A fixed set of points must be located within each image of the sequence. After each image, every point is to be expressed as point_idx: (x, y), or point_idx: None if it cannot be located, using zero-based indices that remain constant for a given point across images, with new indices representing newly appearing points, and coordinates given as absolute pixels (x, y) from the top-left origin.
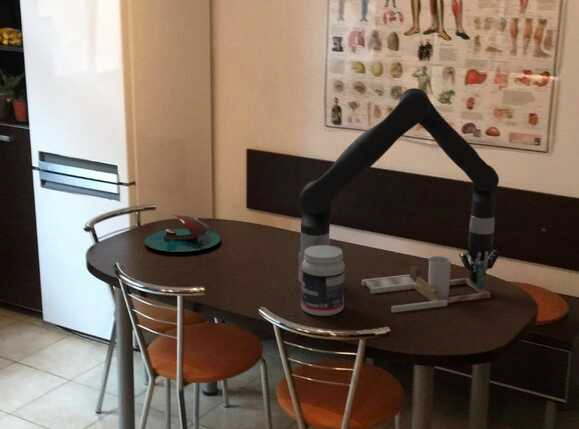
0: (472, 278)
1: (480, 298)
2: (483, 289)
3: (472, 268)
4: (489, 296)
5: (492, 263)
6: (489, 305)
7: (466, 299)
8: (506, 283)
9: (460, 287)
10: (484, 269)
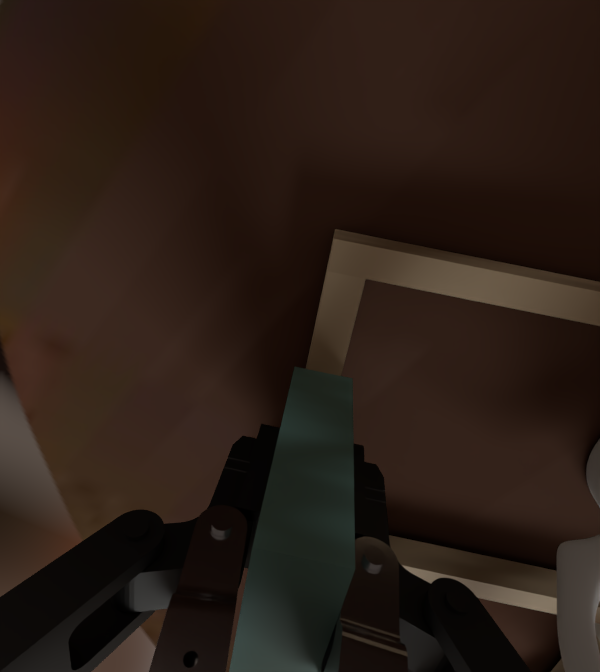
0: (378, 488)
1: (437, 249)
2: (323, 343)
3: (402, 603)
4: (341, 232)
5: (80, 574)
6: (479, 73)
7: (590, 282)
8: (20, 397)
9: None
10: (273, 516)
